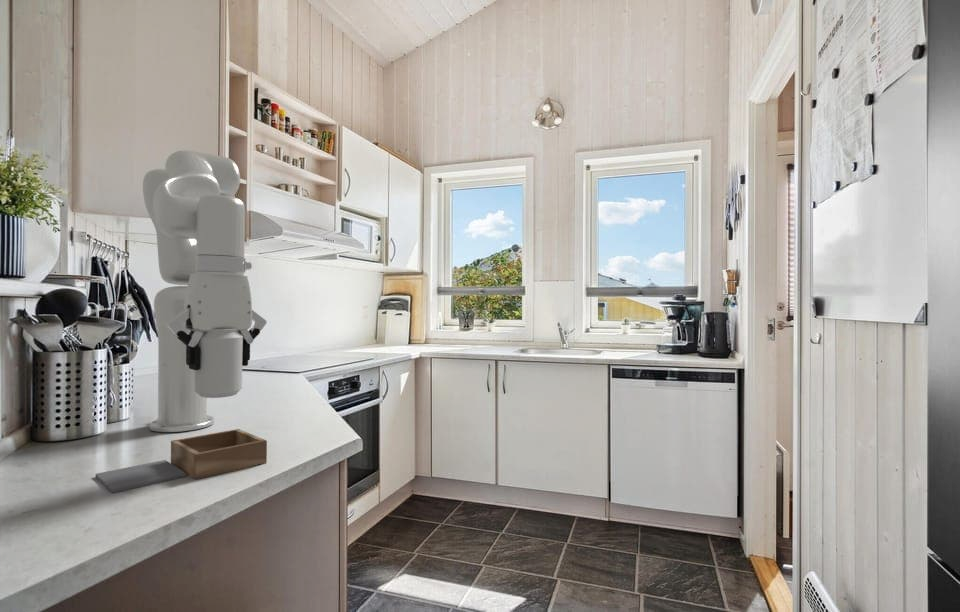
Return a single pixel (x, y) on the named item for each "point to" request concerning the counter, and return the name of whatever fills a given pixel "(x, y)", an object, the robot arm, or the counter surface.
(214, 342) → the can
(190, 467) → the walnut box
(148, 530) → the counter surface
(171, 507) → the counter surface
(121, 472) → the rubber mat
